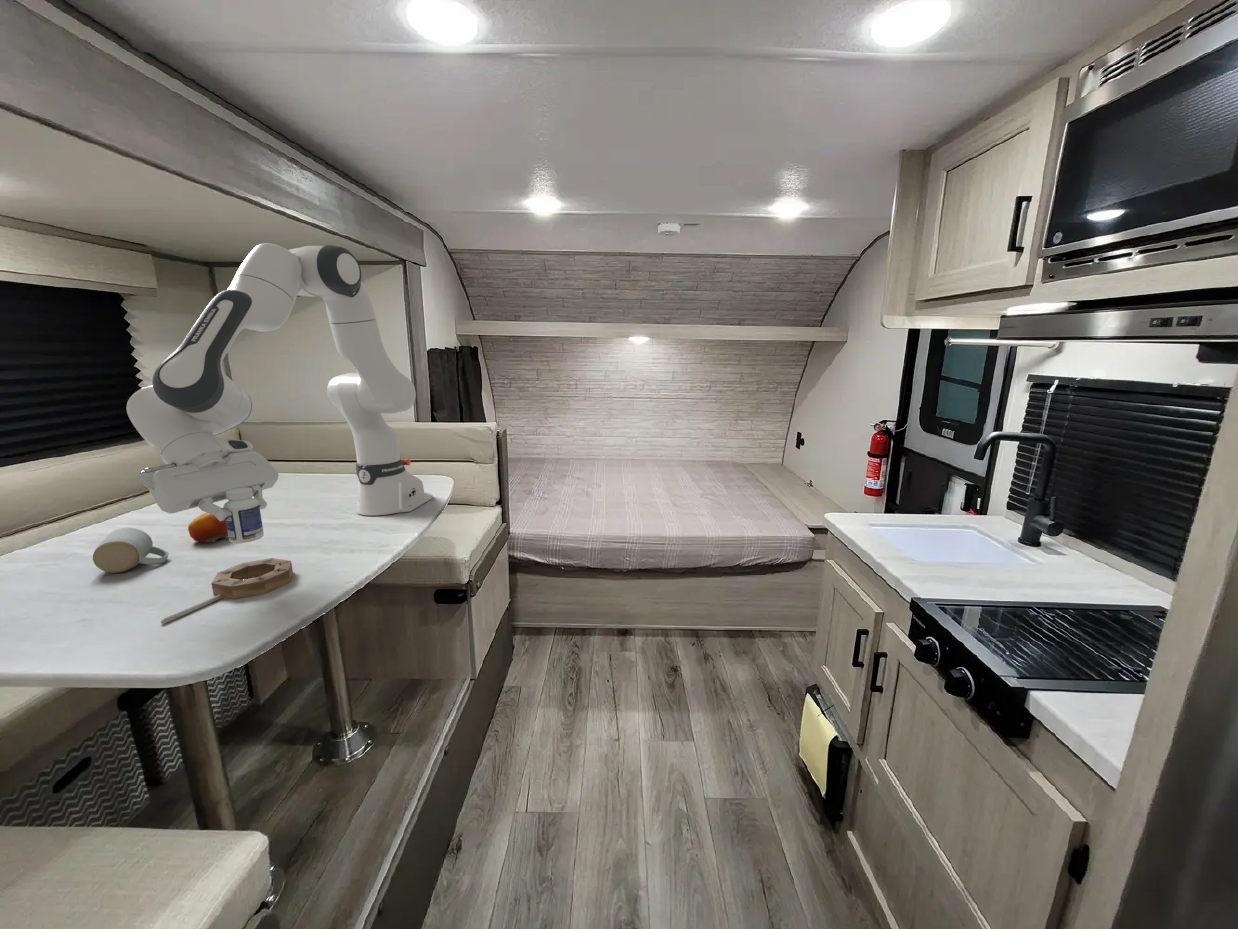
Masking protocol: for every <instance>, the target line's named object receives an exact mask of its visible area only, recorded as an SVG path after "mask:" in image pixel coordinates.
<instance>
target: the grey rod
mask: <svg viewBox="0 0 1238 929" xmlns="http://www.w3.org/2000/svg"><path fill="white" fill-rule="evenodd" d="M222 598H223V597H222V596H221V595H217V596H213V597H210V598H208V599H206V600H204V601H202V602H199V603H197V604H195V605H192V606H190V607H188V608H185V609H184V610H181V611H178V612H175V613H174V614H172V615H170V616H167V617H165V618H162V619H161V620H160V624H162V625H164V624H168V623H169V622H172V621H174V620H176V619H178V618H180V617H182V616H185V615H187V614H189V613H192V612H194V611H197V610H199V609H201V608H203V607H205V606H208V605H210V604H212V603H214V601H215V602H217V601H219V600H221V599H222ZM216 600H217V601H216Z"/></svg>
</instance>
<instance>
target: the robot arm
mask: <svg viewBox="0 0 1238 929" xmlns="http://www.w3.org/2000/svg"><path fill="white" fill-rule="evenodd" d="M299 297H300V298H301V297H320V298H321V299H322V300H323V302H324V303H325V308H326V314H327V318H328V322H329V326H330V329H331V333H332V337H333V341H334V343H335V347H336V352H338V355H340V356H341V357H342V358H343V359H344V360H346V361H347V362H348V363H349V364H350V365H351V366H352V367H353V368H354V370H355V372H348V373H343V374H340V375H336V376H333V377H332V378H331V379H329V382H328V384H327V388H326V396H327V399H328V400H329V403H331V405H332V406H334V407H335V408H336V409H337V410H338V411H339V412H340V413H341V415H342V416H343V418H344V419H345V421H346V422H347V424H348V426H349V429H350V431H351V434H352V437H353V443H354V450H355V454H356V455H355V456H356V462H355V470H356V472H355V473H356V476H357V479H358V480H357V502H356V503H355V507H356V511H355V512H356V513H357V514H359V515H362V516H385V515H391V514H393V515H394V514H399V513H408V512H412V511H414V510H416V508H419V507H420V506H422V505H423V504H426V503H427V502H429V501H430V500H432V499H433V498H434V496H433V494H432V493H429V492H425V488H424V484H423V482H422V480H421V479H420V478H419V477H416V476H415V475H413V474H412V473H410V472H409V471H407V470H406V466H411V463H412V461H411V459H410V458H403V459H401V456H400V448H399V438H398V434H397V432H396V430H395V429H394V428H392V427H391V426H390V425H389V424H387V422H386V420H385V419H384V417H383V414H396V413H401V412H406V411H409V410H410V409H411V408H413V405H414V404H415V401H416V398H417V397H416V396H417V394H416V393H417V392H416V388H415V386H414V383H413V381H412V380H410V378H409V377H407V376H406V375H405V374H403V373H401V371H400V370H399V369H398V368H397V367H396V365H394V363H393V362H392V360H391V359H390V357H389V355H388V354H387V351H386V350H385V347H384V344H383V340H382V337H381V334H380V330H379V324H378V322H377V317H376V314H375V311H374V310H375V309H374V307H373V304H372V302H371V299H370V296H369V293H368V292H367V289H366V287H365V285H364V283H363V282H362V270H361V266H360V263H359V261H358V260H357V258H356V257H355V256H354V254H353V253H352V252H351V251H350V250H349V249H348V248H345V247H342V246H338V245H333V244H327V245H305V246H301V247H296V248H291V249H287V248H285V247H284V246H281V245H279V244H276V243H269V242H264V243H259V244H257V245H255V246H254V247H253V249H252V250H251V251H250V252H249V253H248V254H247V256H246V257H245V258H244V260H243V262H241V264H240V266H239V268H238V269H237V271H236V273H235V275H234V277H233V279H232V281H231V283H230V285H229V286H228V287H227V289H225V290H222V291H220V292H219V293H217V294H216V295H215V296H214V297H213V298H212V299H211V300H210V302H209V303H208V304H207V305H206V307H205V308H204V310H203V311H202V312H201V313H200V315H199V317H198V318H197V320H196V321H195V323H194V324H193V325H192V327H191V329H190V331H188V333H187V335H186V336H185V338H184V339H183V341H182V342H181V343H180V345H179V346H178V347H177V348H176V349H175V350H174V351H172V353H171V354H169V355H168V357H166V358H164V360H163V361H162V362H160V364H159V365H158V366H157V368H156V369H155V371H154V373H153V376H152V385H148V386H144V387H142V388H140V389H138V390H137V391H135V392H134V393H132V395H131V396H130V397H129V399H127V403H126V414H127V416H128V418H129V420H130V422H131V423H132V426H133V427H134V428H135V429H136V431H137V432H138V433H139V434H140V436H141V437H142V438H143V439H144V441H145V442H146V443H147V444H148V445H149V446H151V447H153V448H154V449H155V450H156V451H157V452H158V455H159V457H160V459H161V460H162V462H163V463H164V464H162V465H158V466H157V465H156V466H149V467H146V468H143V470H142V471H140V473H139V474H138V480H139V481H140V482H141V483H142V485H143V486H145V487H146V488H148V490H149V493H150V495H151V496H152V498H153V500H154V502H155V503H156V504H157V506H158V507H159V509H160V510H161V511H163V512H164V513H168V514H175V513H180V512H183V511H187V510H190V509H191V510H192V509H195V508H199V509H200V511H202V512H204V513H209V514H212V515H215V516H216V518H217V519H218V520H219V521H224V520H227V519H230V517H231V516H232V513H231V512H230V511H229V509H228V508H227V507H225V508H223V507H221V506H219V505H217V504H214V503H217V502H221V501H225V500H227V498H226V491H229V490H233V489H237V488H252V491H253V496H252V498H254V499H256V500H258V502H259V507H260V511H261V510H265V509H266V507H267V506H268V503H267V501H266V500H265V499H264V498H263V491H264V490H268V489H271V488H273V487H274V486H275V484H276V483H277V481H278V480H279V476H280V475H279V472H278V470H277V469H276V468H275V467H274V465H272V463H270V461H269V460H268V459H267V458H265V456H263V455H262V454H261V453H259V452H257V451H254V450H253V449H254V446H253V443H252V442H250V441H248V440H242V439H240V440H239V439H229V438H224V437H219V436H218V435H220V434H224V433H225V432H227V431H229V430H231V429H233V428H235V427H238V426H239V425H241V424H243V423H244V422H245V421H246V420H247V419H248V418H249V417H250V415H251V412H252V408H253V402H252V398H251V397H250V396H249V394H248V393H247V392H246V391H245V390H244V389H242V387H240V386H239V385H238V384H237V383H236V382H234V380H232V379H231V378H230V377H229V376H227V375H226V374H225V371H224V366H223V361H224V359H225V357H226V355H227V354H228V352H229V350H230V349H231V347H232V345H233V344H234V342H235V340H236V339H237V337H238V335H239V334H240V332H241V331H243V330H244V329H247V330H250V331H255V332H260V333H261V332H265V333H266V332H272V331H276V330H279V329H281V328H282V327H283V325H284V324H285V323H286V322H287V321H288V319H289V317H290V315H291V313H292V310H293V309H294V305H295V303H296V300H297V298H299ZM216 436H217V437H216Z"/></svg>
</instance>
